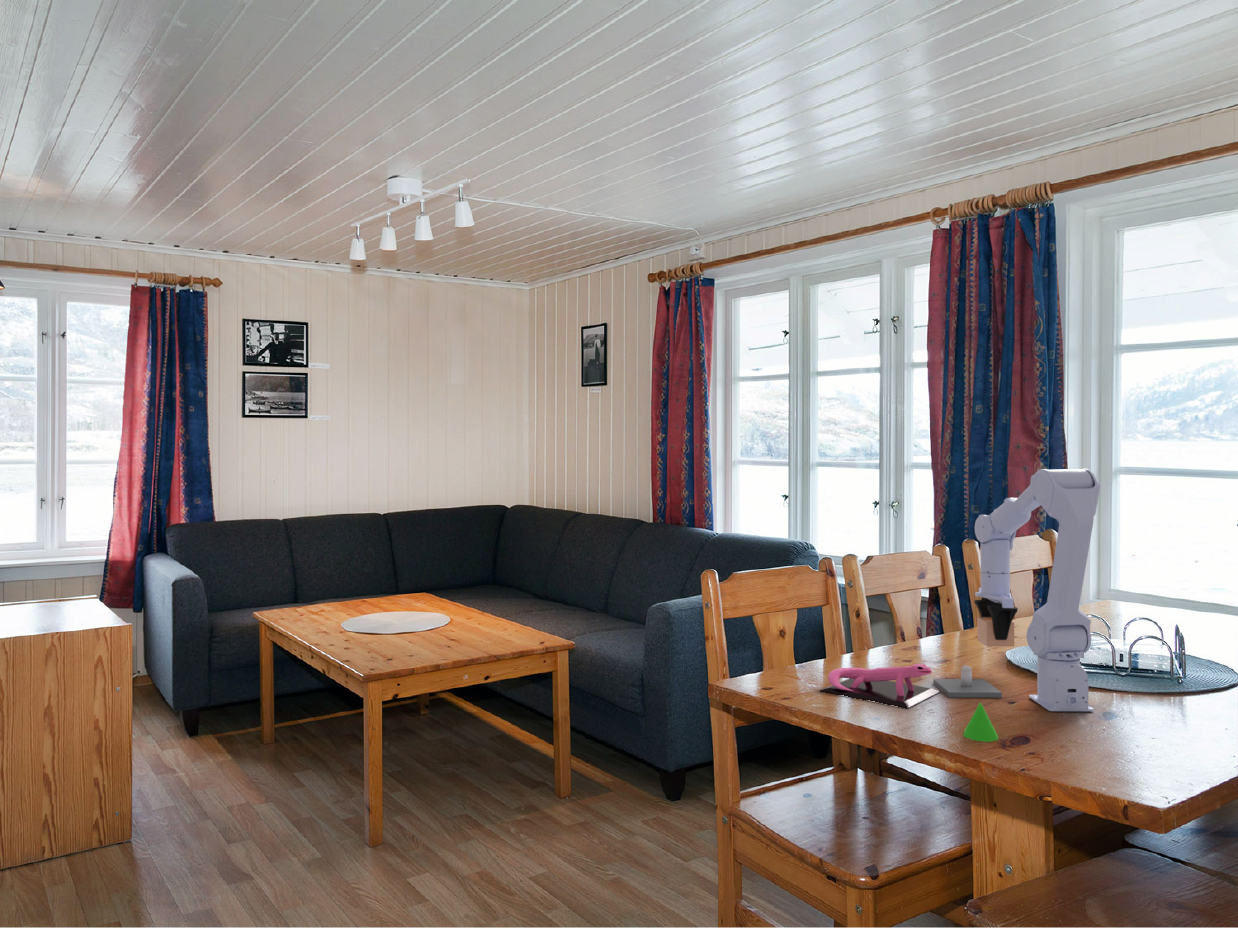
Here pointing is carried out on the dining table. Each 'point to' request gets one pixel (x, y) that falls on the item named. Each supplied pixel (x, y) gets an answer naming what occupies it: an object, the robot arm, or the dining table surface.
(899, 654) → the dining table surface
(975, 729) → the green cone
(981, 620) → the collar
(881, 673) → the lizard figurine
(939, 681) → the post plate
